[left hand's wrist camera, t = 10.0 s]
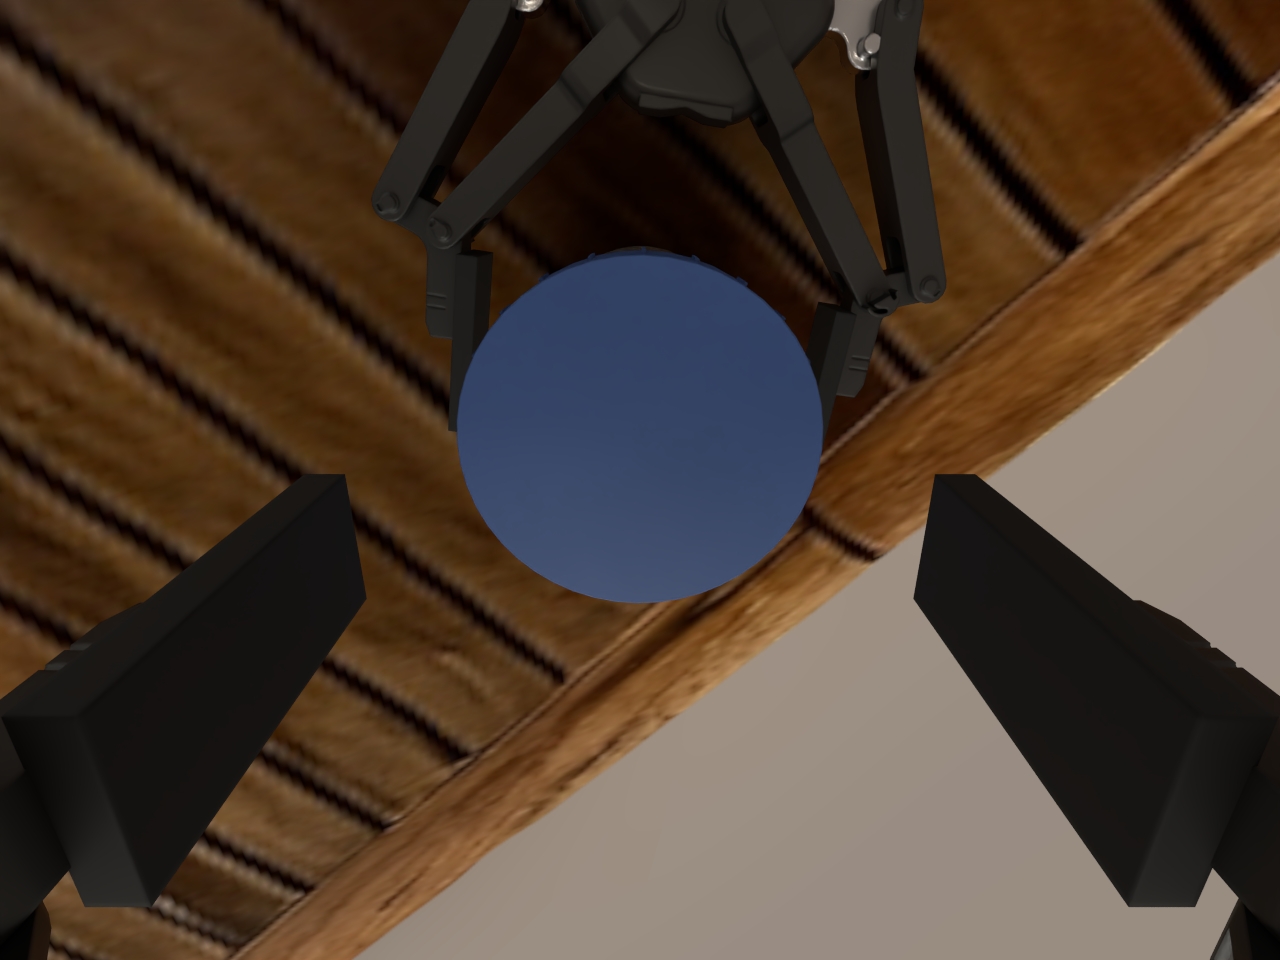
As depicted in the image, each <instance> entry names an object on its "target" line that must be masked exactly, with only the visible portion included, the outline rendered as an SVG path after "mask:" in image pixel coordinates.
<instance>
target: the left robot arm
mask: <svg viewBox="0 0 1280 960" xmlns="http://www.w3.org/2000/svg"><path fill="white" fill-rule="evenodd" d="M366 599H367V598H366V593H365V587H364V581H363V575H362V570H361V564H360V558H359V553H358V547H357V541H356V535H355V530H354V524H353V518H352V513H351V507H350V501H349V495H348V490H347V484H346V478H345V474H304V475H303V476H302V477H301V478H299V479H298V480H297V481H296V482H294V483H293V484H292V485H291V486H289V487H288V488H287V489H286V490H284V491H283V492H282V493H281V494H279V495H278V496H277V497H276V498H274V499H273V500H272V501H271V502H269V503H268V504H267V505H266V506H264V507H263V508H262V509H261V510H259V511H258V512H257V513H256V514H254V515H253V516H252V517H251V518H249V519H248V520H247V521H246V522H244V523H243V524H242V525H241V526H239V527H238V528H237V529H235V530H234V531H233V532H232V533H230V534H229V535H228V536H227V537H225V538H224V539H223V540H222V541H220V542H219V543H218V544H217V545H215V546H214V547H213V548H212V549H210V550H209V551H208V552H207V553H205V554H204V555H203V556H202V557H200V558H199V559H198V560H197V561H195V562H194V563H193V564H192V565H190V566H189V567H188V568H187V569H185V570H184V571H183V572H182V573H180V574H179V575H178V576H177V577H175V578H174V579H173V580H172V581H170V582H169V583H168V584H166V585H165V586H164V587H163V588H161V589H160V590H159V591H158V592H156V593H155V594H154V595H153V596H151V597H150V598H149V599H148V600H146V601H145V602H144V603H139V604H137V605H135V606H133V607H131V608H129V609H127V610H125V611H123V612H121V613H119V614H117V615H115V616H113V617H111V618H109V619H107V620H105V621H103V622H101V623H99V624H98V625H97V626H95V627H94V628H93V629H92V630H90V631H89V632H88V633H86V634H85V635H84V636H82V637H81V638H80V639H79V640H77V641H76V642H75V643H73V644H72V645H71V648H70V650H64V651H63V652H62V653H60V654H59V655H58V656H56V657H55V658H54V659H53V660H51V661H50V662H49V663H47V664H46V665H45V670H38V671H37V672H36V673H34V674H33V675H32V676H31V677H29V678H28V679H27V680H25V681H24V682H23V683H21V684H20V685H19V686H18V687H16V688H15V689H14V690H12V691H11V692H10V693H8V694H7V695H6V696H5V697H3V698H2V699H1V700H0V960H47V956H48V949H49V941H50V934H51V924H50V919H49V914H48V911H47V909H46V907H45V905H44V903H43V899H44V898H45V897H46V896H47V895H48V894H49V893H50V891H51V890H52V889H53V888H54V887H55V886H56V884H57V883H58V882H59V881H60V880H61V879H62V877H63V876H64V875H65V874H66V873H67V872H68V870H69V872H70V874H71V877H72V879H73V881H74V883H75V886H76V888H77V890H78V892H79V895H80V897H81V899H82V902H83V904H84V906H85V907H152V905H153V904H154V902H155V901H156V900H157V898H158V897H159V895H160V894H161V892H162V891H163V890H164V888H165V887H166V885H167V884H168V882H169V881H170V879H171V878H172V877H173V875H174V874H175V872H176V871H177V869H178V868H179V867H180V865H181V864H182V862H183V861H184V859H185V858H186V857H187V855H188V854H189V852H190V851H191V849H192V848H193V847H194V845H195V844H196V842H197V841H198V839H199V838H200V837H201V835H202V834H203V832H204V831H205V829H206V828H207V826H208V825H209V824H210V822H211V821H212V819H213V818H214V816H215V815H216V814H217V812H218V811H219V809H220V808H221V806H222V805H223V804H224V802H225V801H226V799H227V798H228V796H229V795H230V794H231V792H232V791H233V789H234V788H235V786H236V785H237V784H238V782H239V781H240V779H241V778H242V776H243V775H244V773H245V772H246V771H247V769H248V768H249V766H250V765H251V763H252V762H253V761H254V759H255V758H256V756H257V755H258V753H259V752H260V751H261V749H262V748H263V746H264V745H265V743H266V742H267V741H268V739H269V738H270V736H271V735H272V733H273V732H274V731H275V729H276V728H277V726H278V725H279V723H280V722H281V721H282V719H283V718H284V716H285V715H286V713H287V712H288V710H289V709H290V708H291V706H292V705H293V703H294V702H295V700H296V699H297V698H298V696H299V695H300V693H301V692H302V690H303V689H304V688H305V686H306V685H307V683H308V682H309V680H310V679H311V678H312V676H313V675H314V673H315V672H316V670H317V669H318V668H319V666H320V665H321V663H322V662H323V660H324V659H325V657H326V656H327V655H328V653H329V652H330V650H331V649H332V647H333V646H334V645H335V643H336V642H337V640H338V639H339V637H340V636H341V635H342V633H343V632H344V630H345V629H346V627H347V626H348V625H349V623H350V622H351V620H352V619H353V617H354V616H355V615H356V613H357V612H358V610H359V609H360V607H361V606H362V604H363V603H364V602H365V600H366ZM914 600H915V602H916V603H917V604H918V606H919V607H920V609H921V610H922V612H923V613H924V614H925V616H926V617H927V619H928V620H929V622H930V623H931V625H932V626H933V627H934V629H935V630H936V632H937V633H938V634H939V636H940V637H941V639H942V640H943V642H944V643H945V645H946V646H947V647H948V649H949V650H950V652H951V653H952V655H953V656H954V657H955V659H956V660H957V662H958V663H959V665H960V666H961V668H962V669H963V670H964V672H965V673H966V675H967V676H968V677H969V679H970V680H971V682H972V683H973V685H974V686H975V688H976V689H977V690H978V692H979V693H980V695H981V696H982V698H983V699H984V700H985V702H986V703H987V705H988V706H989V708H990V709H991V710H992V712H993V713H994V715H995V716H996V717H997V719H998V720H999V722H1000V723H1001V725H1002V726H1003V728H1004V729H1005V731H1006V732H1007V733H1008V735H1009V736H1010V738H1011V739H1012V741H1013V742H1014V743H1015V745H1016V746H1017V748H1018V749H1019V751H1020V752H1021V753H1022V755H1023V756H1024V758H1025V759H1026V761H1027V762H1028V763H1029V765H1030V766H1031V768H1032V769H1033V771H1034V772H1035V773H1036V775H1037V776H1038V778H1039V779H1040V781H1041V782H1042V784H1043V785H1044V786H1045V788H1046V789H1047V791H1048V792H1049V794H1050V795H1051V796H1052V798H1053V799H1054V801H1055V802H1056V804H1057V805H1058V806H1059V808H1060V809H1061V811H1062V812H1063V814H1064V815H1065V816H1066V818H1067V819H1068V821H1069V822H1070V824H1071V825H1072V826H1073V828H1074V829H1075V831H1076V832H1077V834H1078V835H1079V837H1080V838H1081V839H1082V841H1083V842H1084V844H1085V845H1086V847H1087V848H1088V849H1089V851H1090V852H1091V854H1092V855H1093V857H1094V858H1095V859H1096V861H1097V862H1098V864H1099V865H1100V866H1101V868H1102V869H1103V871H1104V872H1105V874H1106V875H1107V877H1108V878H1109V879H1110V881H1111V882H1112V884H1113V885H1114V887H1115V888H1116V890H1117V891H1118V892H1119V894H1120V895H1121V897H1122V898H1123V900H1124V901H1125V902H1126V904H1127V905H1128V907H1195V906H1196V904H1197V901H1198V899H1199V897H1200V895H1201V892H1202V890H1203V888H1204V886H1205V883H1206V881H1207V879H1208V877H1209V874H1210V872H1211V870H1212V868H1213V869H1214V870H1215V871H1216V872H1217V873H1218V875H1219V876H1220V877H1221V878H1222V879H1223V880H1224V881H1225V883H1226V884H1227V885H1228V886H1229V887H1230V888H1231V890H1232V891H1233V892H1234V893H1235V894H1236V895H1237V896H1238V898H1239V899H1238V901H1237V903H1236V905H1235V907H1234V909H1233V911H1232V913H1231V915H1230V918H1229V920H1228V922H1227V924H1226V926H1225V928H1224V930H1223V932H1222V934H1221V937H1220V939H1219V941H1218V943H1217V945H1216V947H1215V949H1214V951H1213V953H1212V956H1211V958H1210V960H1280V696H1279V695H1278V694H1276V693H1275V692H1274V691H1272V690H1271V689H1270V688H1268V687H1267V686H1266V685H1265V684H1263V683H1262V682H1261V681H1259V680H1258V679H1257V678H1255V677H1254V676H1253V675H1251V674H1250V673H1249V672H1248V671H1246V670H1245V669H1244V668H1237V667H1236V662H1234V661H1233V660H1232V659H1230V658H1229V657H1228V656H1227V655H1225V654H1224V653H1223V652H1221V651H1220V650H1219V649H1217V648H1211V646H1210V642H1208V641H1207V640H1206V639H1204V638H1203V637H1202V636H1200V635H1199V634H1198V633H1196V632H1195V631H1194V630H1193V629H1191V628H1190V627H1189V626H1187V625H1186V624H1185V623H1183V622H1182V621H1181V620H1179V619H1177V618H1175V617H1173V616H1171V615H1169V614H1167V613H1165V612H1163V611H1161V610H1159V609H1157V608H1155V607H1153V606H1151V605H1149V604H1147V603H1145V602H1143V601H1141V600H1132V599H1131V598H1130V597H1129V596H1127V595H1126V594H1125V593H1123V592H1122V591H1121V590H1120V589H1118V588H1117V587H1116V586H1115V585H1114V584H1112V583H1111V582H1110V581H1108V580H1107V579H1106V578H1105V577H1103V576H1102V575H1101V574H1100V573H1098V572H1097V571H1096V570H1095V569H1093V568H1092V567H1091V566H1090V565H1088V564H1087V563H1086V562H1085V561H1083V560H1082V559H1081V558H1080V557H1078V556H1077V555H1076V554H1075V553H1073V552H1072V551H1071V550H1070V549H1068V548H1067V547H1066V546H1065V545H1063V544H1062V543H1061V542H1060V541H1058V540H1057V539H1056V538H1055V537H1053V536H1052V535H1051V534H1050V533H1048V532H1047V531H1046V530H1044V529H1043V528H1042V527H1041V526H1039V525H1038V524H1037V523H1036V522H1034V521H1033V520H1032V519H1031V518H1029V517H1028V516H1027V515H1026V514H1024V513H1023V512H1022V511H1021V510H1019V509H1018V508H1017V507H1016V506H1014V505H1013V504H1012V503H1011V502H1009V501H1008V500H1007V499H1006V498H1004V497H1003V496H1002V495H1001V494H999V493H998V492H997V491H996V490H994V489H993V488H992V487H990V486H989V485H988V484H987V483H986V482H984V481H983V480H982V479H981V478H979V477H978V476H977V475H976V474H935V478H934V484H933V490H932V495H931V501H930V507H929V513H928V518H927V524H926V530H925V536H924V541H923V547H922V553H921V558H920V564H919V570H918V575H917V581H916V587H915V593H914Z"/></svg>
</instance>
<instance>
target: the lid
mask: <svg viewBox="0 0 1280 960" xmlns="http://www.w3.org/2000/svg"><path fill="white" fill-rule="evenodd" d="M539 281H540V282H539V283H538V284H536V285H535V286H534V287H532V288H531V289H529V290H528V291H527V292H525V293H524V294H523V295H522V296H520V297H519V298H518V299H517V300H516V301H515V302H514V303H513V304H512V305H508V306H507V307H506V308H504V309H503V310H502V311H501V312H500V313H499V314H500V315H501V316H500V317H499V318H498V319H497V321H496V322H495V323H494V324H493V326H492V327H491V328H490V329H489V330H488V332H487V334H486V335H485V337H484V338H483V340H482V342H481V343H480V345H479V347H478V348H477V350H476V351H475V352H474V353H473V355H472V357H473V359H472V361H471V363H470V366H469V368H468V370H467V373H466V375H465V379H464V383H463V387H462V390H461V394H460V399H459V407H458V415H457V444H458V450H459V457H460V463H461V468H462V471H463V474H464V478H465V481H466V484H467V487H468V490H469V492H470V494H471V496H472V498H473V501H474V503H475V505H476V507H477V509H478V511H479V512H480V514H481V515H482V517H483V519H484V520H485V522H486V524H487V525H488V527H489V528H490V529H491V530H492V532H493V533H494V534H495V535H496V537H497V538H498V539H499V540H500V542H501V543H502V544H503V545H504V546H505V547H506V548H507V549H508V550H509V551H510V552H511V553H512V554H514V555H515V556H516V557H517V558H518V559H519V560H520V561H522V562H523V563H524V564H526V565H527V566H528V567H530V568H531V569H532V570H534V571H535V572H537V573H538V574H540V575H542V576H543V577H545V578H547V579H549V580H550V581H552V582H554V583H556V584H558V585H561V586H563V587H565V588H567V589H570V590H572V591H575V592H578V593H581V594H584V595H588V596H591V597H594V598H600V599H605V600H610V601H616V602H630V603H650V602H663V601H669V600H676V599H681V598H685V597H689V596H692V595H696V594H700V593H702V592H705V591H707V590H710V589H712V588H715V587H717V586H720V585H722V584H724V583H726V582H728V581H729V580H731V579H733V578H735V577H737V576H739V575H740V574H742V573H743V572H745V571H746V570H748V569H749V568H750V567H752V566H753V565H755V564H756V563H757V562H759V561H760V560H761V559H762V558H763V557H764V556H765V555H766V554H767V553H769V552H770V551H771V550H772V549H773V548H774V547H775V546H776V545H777V544H778V542H779V541H780V540H781V539H782V538H783V537H784V535H785V534H786V533H787V532H788V531H789V529H790V528H791V526H792V525H793V523H794V522H795V520H796V519H797V517H798V516H799V514H800V513H801V511H802V509H803V507H804V505H805V503H806V501H807V499H808V497H809V495H810V493H811V490H812V487H813V484H814V481H815V478H816V475H817V472H818V467H819V462H820V457H821V452H822V441H823V417H822V404H821V399H820V395H819V390H818V386H817V382H816V379H815V376H814V373H813V371H812V368H811V365H810V363H811V362H810V360H809V359H808V358H807V356H806V354H805V352H804V350H803V349H802V347H801V345H800V343H799V341H798V340H797V338H796V336H795V335H794V334H793V332H792V331H791V330H790V328H789V327H788V326H787V324H786V323H785V322H784V320H786V319H785V318H784V316H782V315H781V314H780V313H778V312H777V311H776V310H773V309H772V308H771V307H770V306H769V305H768V304H767V303H766V302H765V301H764V300H763V299H762V298H761V297H759V296H758V295H757V294H755V293H754V292H753V291H751V290H750V289H749V288H747V287H746V286H747V284H748V283H747V282H745V281H744V280H742V279H741V278H740V277H737V279H735V278H734V277H732V276H730V275H728V274H727V273H725V272H723V271H721V270H719V269H718V268H716V267H714V266H712V265H709V264H706V263H704V262H701V261H700V259H699V258H698V257H696V256H695V255H692V257H691V258H690V257H686V256H682V255H677V254H673V253H669V252H659V251H648V250H646V247H642V250H635V251H618V252H613V253H608V254H602V255H597V256H595V253H592V254H590V255H589V256H588V259H585V260H582V261H579V262H576V263H573V264H571V265H569V266H567V267H565V268H563V269H561V270H559V271H557V272H555V273H553V274H551V275H549V274H548V273H547V274H545V275H544V276H542V277H541V278H539Z"/></svg>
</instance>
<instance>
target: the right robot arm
mask: <svg viewBox="0 0 1280 960" xmlns="http://www.w3.org/2000/svg"><path fill="white" fill-rule="evenodd" d="M549 2H550V0H470V1H469V3H468V5H467V7H466V9H465V11H464V13H463V15H462V17H461V19H460V21H459V23H458V25H457V27H456V29H455V31H454V33H453V35H452V37H451V39H450V41H449V43H448V45H447V47H446V49H445V51H444V53H443V55H442V57H441V59H440V61H439V63H438V65H437V67H436V69H435V71H434V73H433V75H432V77H431V79H430V81H429V83H428V85H427V87H426V89H425V91H424V93H423V95H422V96H421V98H420V100H419V102H418V104H417V106H416V108H415V110H414V112H413V114H412V116H411V118H410V120H409V122H408V124H407V126H406V128H405V130H404V132H403V134H402V136H401V138H400V140H399V142H398V144H397V146H396V148H395V150H394V152H393V154H392V156H391V158H390V160H389V162H388V164H387V166H386V168H385V170H384V172H383V174H382V176H381V178H380V180H379V182H378V184H377V186H376V188H375V190H374V192H373V195H372V206H373V208H374V210H375V212H376V214H377V215H378V216H379V217H381V218H382V219H384V220H386V221H393V222H394V223H396V224H398V225H400V226H402V227H404V228H406V229H407V230H409V231H411V232H413V233H414V234H416V235H417V236H418V237H419V238H420V239H421V240H422V241H423V243H424V245H425V247H426V250H427V290H426V294H427V296H426V325H427V327H428V330H429V333H430V336H432V337H439V338H446V339H452V357H451V381H450V404H449V428H448V431H455V432H457V415H458V407H459V399H460V394H461V390H462V387H463V383H464V379H465V375H466V373H467V370H468V368H469V366H470V363H471V361H472V359H473V357H472V355H473V353H474V352H475V351H476V350H477V348H478V347H479V345H480V343H481V342H482V340H483V338H484V337H485V335H486V334H487V332H488V326H489V310H490V294H491V278H492V262H493V252H487V251H480V250H471V243H472V242H473V241H475V240H474V239H473V238H474V237H475V236H476V235H477V234H478V233H479V232H480V231H481V230H482V229H483V228H484V227H485V226H486V225H487V224H488V223H489V222H490V221H491V220H492V219H493V218H494V217H495V216H496V215H497V214H498V213H499V212H500V211H501V210H502V209H503V208H504V207H505V206H506V205H507V204H508V203H509V202H510V201H511V200H512V199H513V198H514V197H515V196H516V195H517V194H518V193H519V192H520V190H521V189H522V188H523V187H524V186H525V185H526V184H527V183H528V182H529V181H530V180H531V179H532V178H533V177H534V176H535V175H536V174H537V173H538V172H539V171H540V170H541V169H542V168H543V167H544V166H545V165H546V164H547V163H548V162H549V161H550V160H551V159H552V158H553V157H554V156H555V155H556V154H557V153H558V152H559V151H560V150H561V149H562V148H563V147H564V146H565V145H566V144H567V143H568V142H569V141H570V140H571V139H572V138H573V136H574V135H575V134H576V133H577V132H578V131H579V130H580V129H581V128H582V127H583V126H584V125H585V124H586V123H587V122H589V121H590V120H591V119H593V118H594V117H595V116H596V115H597V114H599V113H600V112H601V111H602V110H603V109H604V108H605V107H606V105H607V104H608V103H609V102H610V101H611V100H612V99H613V98H614V97H615V96H616V95H617V94H618V93H619V95H620V97H621V98H622V99H623V100H624V101H625V102H626V103H627V104H628V105H629V106H631V107H632V108H634V109H635V110H637V111H639V114H641V115H647V116H654V117H668V116H675V115H685V116H687V117H689V118H691V119H693V120H695V121H697V122H699V123H701V124H703V125H708V126H714V127H720V128H725V127H726V126H727V125H733V124H736V123H739V122H741V121H743V120H744V119H746V118H748V117H749V118H750V120H751V122H752V124H753V126H754V128H755V130H756V132H757V134H758V136H759V138H760V140H761V142H762V143H763V145H764V146H765V147H766V149H767V150H768V151H769V153H770V155H771V157H772V159H773V161H774V163H775V165H776V167H777V169H778V171H779V173H780V175H781V177H782V179H783V181H784V183H785V185H786V187H787V189H788V191H789V193H790V195H791V197H792V199H793V201H794V203H795V205H796V207H797V209H798V211H799V213H800V215H801V217H802V219H803V221H804V223H805V225H806V227H807V229H808V231H809V233H810V235H811V237H812V239H813V241H814V243H815V245H816V247H817V249H818V251H819V253H820V255H821V257H822V259H823V261H824V263H825V265H826V267H827V269H828V271H829V273H830V275H831V277H832V279H833V281H834V283H835V285H836V287H837V289H838V291H839V293H840V295H841V297H842V301H841V305H840V306H838V305H835V304H829V303H822V302H818V305H817V309H816V314H815V318H814V322H813V326H812V330H811V335H810V339H809V343H808V347H807V351H806V356H807V358H808V359H809V360H810V362H811V363H810V365H811V368H812V371H813V373H814V376H815V379H816V382H817V386H818V390H819V395H820V399H821V404H822V417H823V441H822V447H823V443H824V439H825V436H826V432H827V428H828V424H829V420H830V416H831V413H832V409H833V405H834V401H835V397H836V395H841V396H848V397H855V396H856V395H857V393H858V392H859V391H860V389H861V388H862V386H863V384H864V381H865V377H866V373H867V369H868V366H869V362H870V359H871V355H872V352H873V348H874V344H875V341H876V337H877V333H878V330H879V326H880V323H881V321H882V319H883V317H886V316H889V315H890V314H892V313H893V312H894V311H895V310H896V308H897V307H900V306H905V305H909V304H914V303H919V302H922V303H932V302H934V301H936V300H938V299H939V298H940V297H941V296H942V295H943V293H944V291H945V289H946V275H945V269H944V262H943V256H942V250H941V243H940V237H939V230H938V224H937V217H936V211H935V204H934V198H933V191H932V185H931V178H930V172H929V165H928V159H927V152H926V146H925V139H924V133H923V126H922V120H921V113H920V107H919V100H918V94H917V87H916V81H915V74H914V64H915V58H916V51H917V45H918V39H919V32H920V26H921V20H922V13H923V0H575V3H576V5H577V7H578V9H579V11H580V14H581V16H582V18H583V20H584V22H585V24H586V26H587V29H588V31H589V33H590V35H591V37H592V40H591V41H590V43H589V44H588V45H587V46H586V47H585V48H584V49H583V50H582V51H581V52H580V53H579V54H578V55H577V56H576V57H575V58H574V59H573V60H572V62H571V63H570V64H569V65H568V66H567V67H566V68H565V69H564V71H563V72H562V74H561V75H560V77H559V79H558V80H557V82H556V83H555V84H554V85H553V86H552V87H551V88H550V89H549V91H548V92H547V93H546V94H545V95H544V96H543V97H542V98H541V99H540V100H539V101H538V102H537V103H536V104H535V105H534V106H533V107H532V108H531V109H530V111H529V112H528V113H527V114H526V115H525V116H524V117H523V118H522V119H521V120H520V121H519V122H518V123H517V124H516V125H515V126H514V127H513V128H512V130H511V131H510V132H509V133H508V134H507V135H506V136H505V137H504V138H503V139H502V140H501V141H500V142H499V143H498V144H497V145H496V146H495V147H494V149H493V150H492V151H491V152H490V153H489V154H488V155H487V156H486V157H485V158H484V159H483V160H482V161H481V162H480V163H479V164H478V165H477V166H476V168H475V169H474V170H473V171H472V172H471V173H470V174H469V175H468V176H467V177H466V178H465V179H464V180H463V181H462V182H461V183H460V184H459V185H458V187H457V188H456V189H455V190H454V191H453V192H452V193H451V194H450V195H449V196H448V197H447V198H446V199H445V200H444V201H443V202H442V203H441V202H439V201H437V200H435V199H433V198H434V197H435V195H436V193H437V191H438V189H439V187H440V185H441V184H442V182H443V180H444V178H445V176H446V174H447V172H448V170H449V169H450V167H451V165H452V163H453V161H454V159H455V157H456V156H457V154H458V152H459V150H460V148H461V146H462V144H463V143H464V141H465V139H466V137H467V135H468V133H469V131H470V130H471V128H472V126H473V124H474V122H475V120H476V118H477V117H478V115H479V113H480V111H481V109H482V107H483V105H484V103H485V102H486V100H487V98H488V96H489V94H490V92H491V90H492V89H493V87H494V85H495V83H496V81H497V79H498V77H499V76H500V74H501V72H502V70H503V68H504V66H505V64H506V63H507V61H508V59H509V57H510V55H511V53H512V51H513V49H514V47H515V45H516V43H517V41H518V39H519V36H520V33H521V30H522V27H523V24H524V20H525V18H530V19H534V18H538V17H540V16H541V15H542V14H543V13H544V12H545V11H546V9H547V7H548V4H549ZM823 37H829V38H831V39H832V40H834V42H835V43H836V44H837V46H838V48H839V53H840V61H841V64H842V66H843V68H844V69H845V70H846V71H847V72H849V73H850V74H855V95H856V103H857V110H858V116H859V121H860V127H861V132H862V137H863V143H864V148H865V154H866V159H867V165H868V170H869V175H870V181H871V186H872V192H873V197H874V202H875V208H876V213H877V219H878V224H879V229H880V235H881V240H882V246H883V251H884V257H885V262H886V267H887V269H886V270H882V268H881V265H880V263H879V261H878V259H877V257H876V255H875V253H874V251H873V248H872V246H871V244H870V242H869V240H868V238H867V236H866V233H865V231H864V229H863V227H862V225H861V223H860V221H859V219H858V216H857V214H856V212H855V210H854V208H853V206H852V204H851V202H850V199H849V197H848V195H847V193H846V191H845V189H844V187H843V184H842V182H841V180H840V178H839V176H838V174H837V172H836V170H835V167H834V165H833V163H832V161H831V159H830V157H829V155H828V153H827V150H826V148H825V146H824V144H823V142H822V140H821V138H820V136H819V133H818V131H817V129H816V127H815V124H814V117H813V113H812V109H811V107H810V104H809V102H808V100H807V98H806V96H805V94H804V92H803V89H802V87H801V85H800V83H799V81H798V79H797V77H796V74H795V72H794V69H795V68H796V67H797V66H798V65H799V64H800V62H801V61H802V60H803V59H804V58H805V57H806V56H807V55H808V54H809V53H810V52H811V50H812V49H813V48H814V47H815V46H816V45H817V44H818V43H819V42H820V41H821V40H822V38H823Z"/></svg>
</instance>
